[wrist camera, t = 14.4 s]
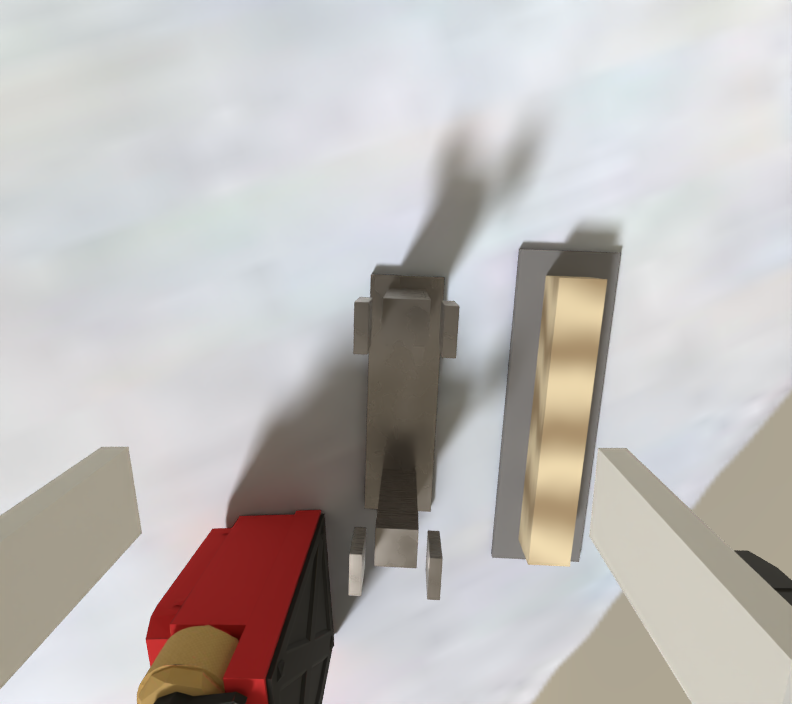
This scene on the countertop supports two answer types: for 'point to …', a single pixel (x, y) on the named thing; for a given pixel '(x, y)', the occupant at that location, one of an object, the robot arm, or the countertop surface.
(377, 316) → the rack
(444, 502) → the countertop surface
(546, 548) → the rail
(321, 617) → the red coffee machine
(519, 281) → the mat
